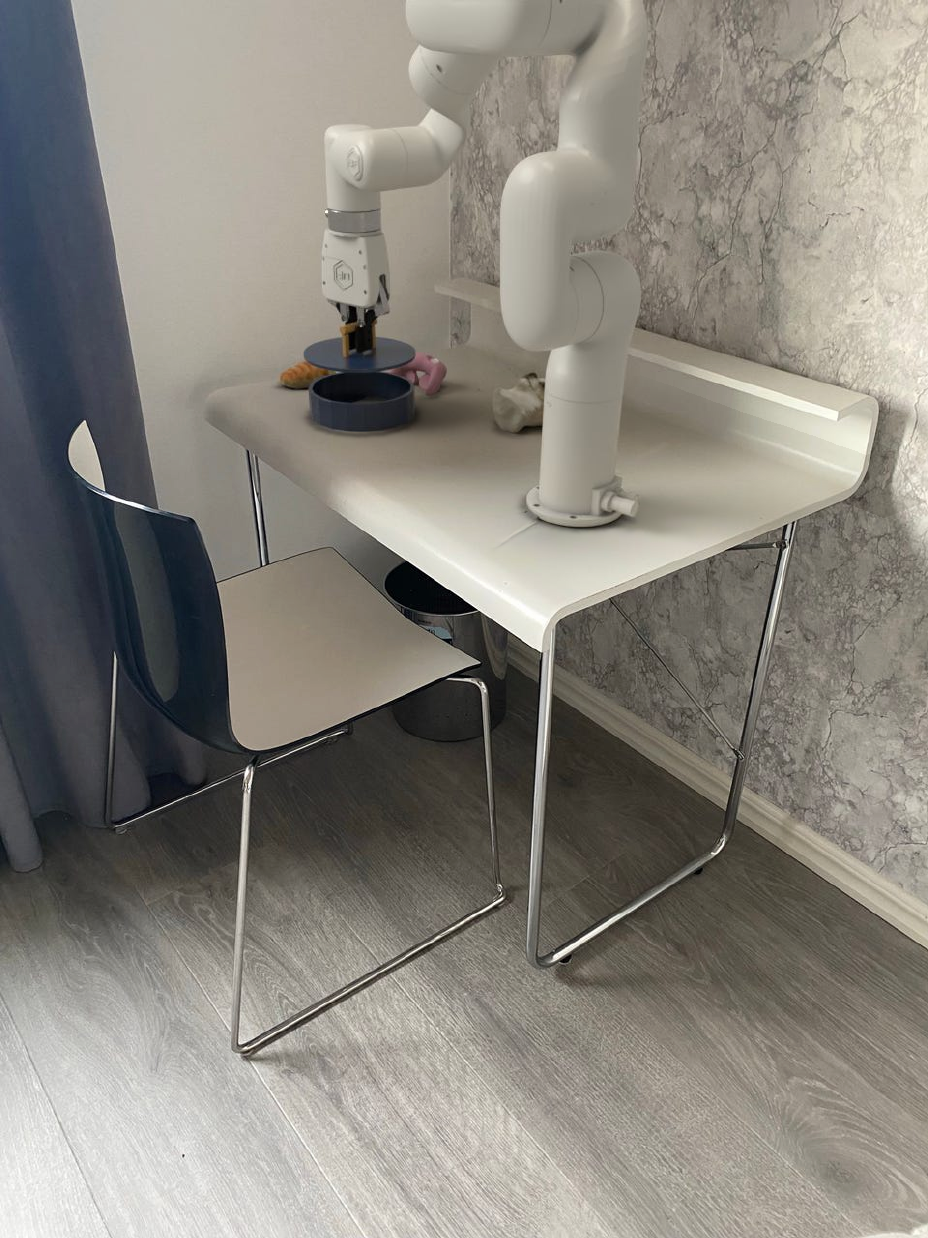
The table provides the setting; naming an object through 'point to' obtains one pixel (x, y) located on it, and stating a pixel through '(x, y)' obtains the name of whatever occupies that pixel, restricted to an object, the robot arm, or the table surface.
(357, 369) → the lid
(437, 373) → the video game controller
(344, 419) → the tin
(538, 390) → the ceramic sculpture
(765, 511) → the table surface
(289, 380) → the pastry
